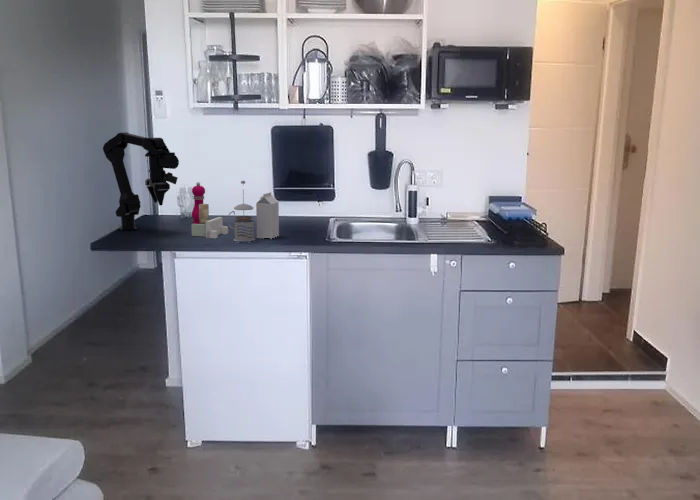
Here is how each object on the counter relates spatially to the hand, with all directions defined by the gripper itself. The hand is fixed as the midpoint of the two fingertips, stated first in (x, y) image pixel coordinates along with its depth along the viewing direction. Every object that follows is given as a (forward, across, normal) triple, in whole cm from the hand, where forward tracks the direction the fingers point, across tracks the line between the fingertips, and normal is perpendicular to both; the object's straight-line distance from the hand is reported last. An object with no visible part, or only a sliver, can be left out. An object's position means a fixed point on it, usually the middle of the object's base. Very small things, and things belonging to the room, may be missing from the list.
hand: (158, 203), depth 274 cm
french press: (+13, -29, -27) cm, 42 cm away
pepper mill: (+13, +14, -22) cm, 29 cm away
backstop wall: (+13, -15, -21) cm, 29 cm away
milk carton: (+13, -28, -39) cm, 50 cm away
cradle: (+13, -11, -17) cm, 24 cm away
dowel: (+12, -11, -17) cm, 23 cm away
